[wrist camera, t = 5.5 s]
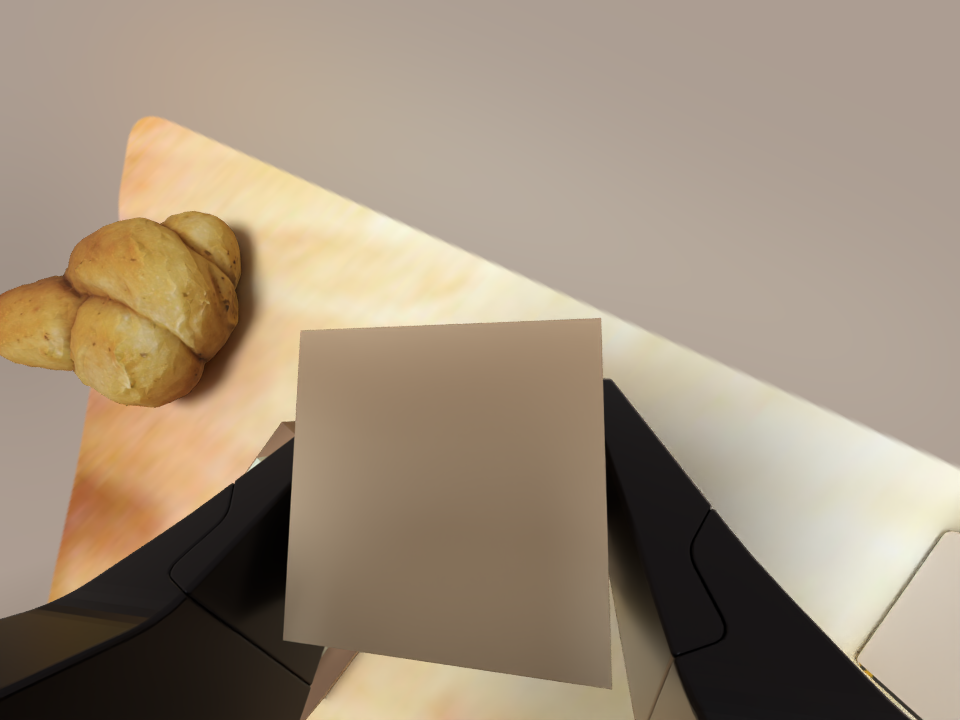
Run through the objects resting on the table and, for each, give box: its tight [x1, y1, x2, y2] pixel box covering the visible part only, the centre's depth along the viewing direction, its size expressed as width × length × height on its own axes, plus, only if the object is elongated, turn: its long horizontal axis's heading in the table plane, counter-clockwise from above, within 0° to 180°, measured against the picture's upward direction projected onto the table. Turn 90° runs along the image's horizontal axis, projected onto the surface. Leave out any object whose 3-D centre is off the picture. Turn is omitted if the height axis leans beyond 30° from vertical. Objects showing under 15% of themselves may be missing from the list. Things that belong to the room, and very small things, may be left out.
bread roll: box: [0, 211, 241, 408], centre depth 24 cm, size 13×10×8 cm
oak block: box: [283, 318, 612, 689], centre depth 10 cm, size 4×4×10 cm
